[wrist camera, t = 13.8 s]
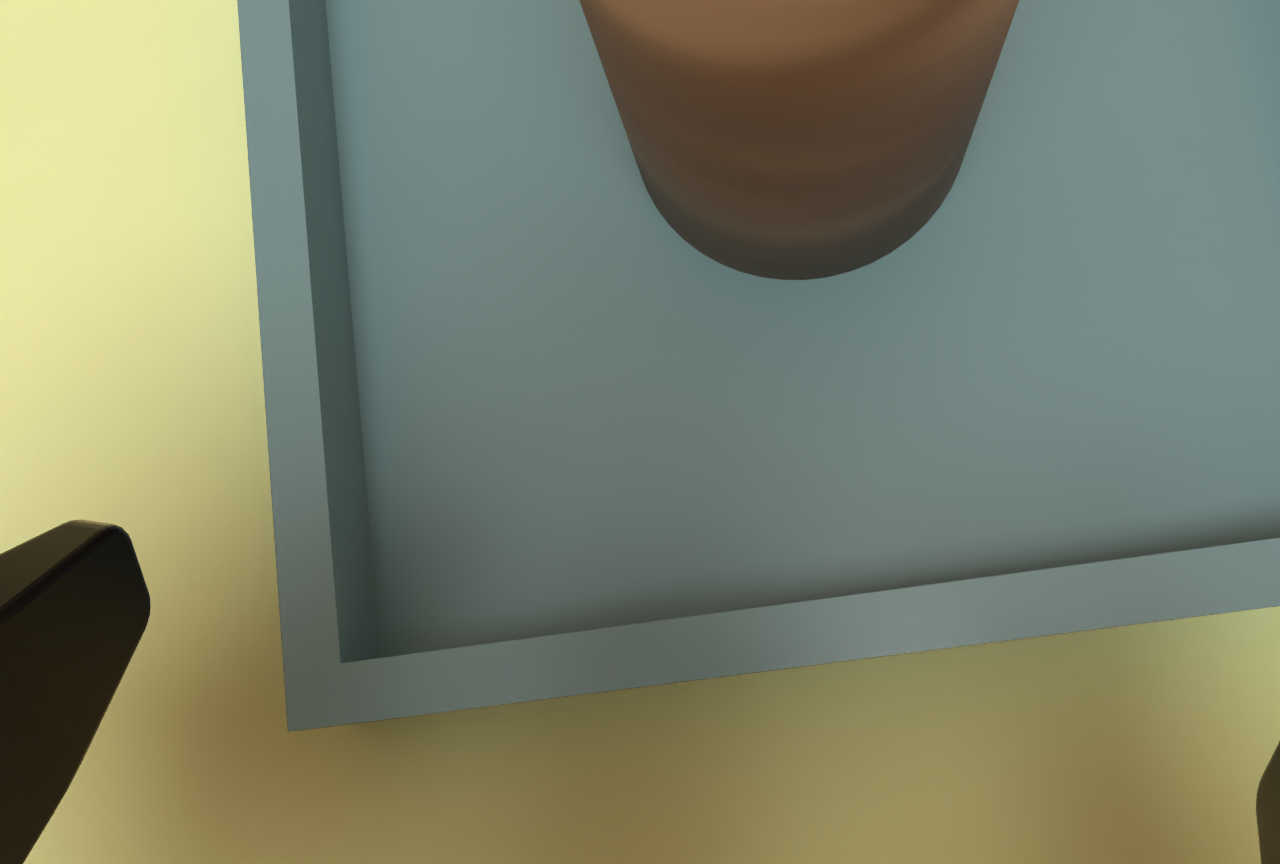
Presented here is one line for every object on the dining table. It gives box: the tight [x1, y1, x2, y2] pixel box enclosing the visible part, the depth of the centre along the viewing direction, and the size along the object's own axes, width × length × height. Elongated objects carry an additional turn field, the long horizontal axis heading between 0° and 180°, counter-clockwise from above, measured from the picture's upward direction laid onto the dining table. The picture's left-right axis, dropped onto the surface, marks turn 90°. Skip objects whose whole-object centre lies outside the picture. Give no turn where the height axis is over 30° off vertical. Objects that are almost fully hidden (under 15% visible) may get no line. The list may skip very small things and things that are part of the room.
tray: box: [237, 0, 1280, 732], centre depth 17 cm, size 16×16×2 cm
